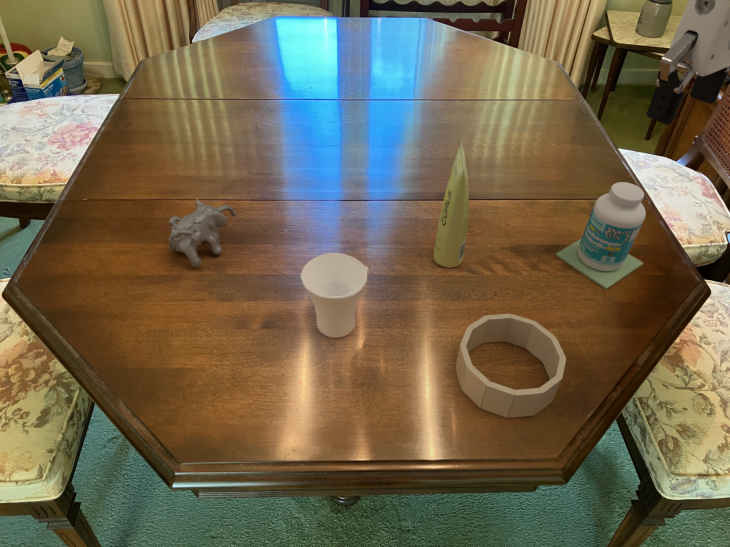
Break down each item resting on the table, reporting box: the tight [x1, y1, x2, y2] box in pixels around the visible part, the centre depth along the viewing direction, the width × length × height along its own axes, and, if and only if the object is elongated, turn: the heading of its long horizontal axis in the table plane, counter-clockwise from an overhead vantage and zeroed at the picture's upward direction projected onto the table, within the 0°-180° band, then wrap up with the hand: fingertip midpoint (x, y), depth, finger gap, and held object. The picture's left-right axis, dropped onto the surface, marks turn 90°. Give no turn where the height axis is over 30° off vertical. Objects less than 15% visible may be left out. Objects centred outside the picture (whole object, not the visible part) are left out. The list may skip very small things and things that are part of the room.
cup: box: [299, 252, 370, 339], centre depth 77 cm, size 9×9×10 cm
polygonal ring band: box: [454, 313, 567, 419], centre depth 72 cm, size 13×13×5 cm
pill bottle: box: [578, 181, 647, 271], centre depth 86 cm, size 8×7×14 cm
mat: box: [554, 238, 644, 290], centre depth 91 cm, size 10×10×1 cm
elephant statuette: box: [168, 198, 237, 269], centre depth 90 cm, size 9×12×8 cm
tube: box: [433, 141, 470, 269], centre depth 84 cm, size 6×5×20 cm
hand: (680, 109), depth 69 cm, fingers open, 9 cm apart
